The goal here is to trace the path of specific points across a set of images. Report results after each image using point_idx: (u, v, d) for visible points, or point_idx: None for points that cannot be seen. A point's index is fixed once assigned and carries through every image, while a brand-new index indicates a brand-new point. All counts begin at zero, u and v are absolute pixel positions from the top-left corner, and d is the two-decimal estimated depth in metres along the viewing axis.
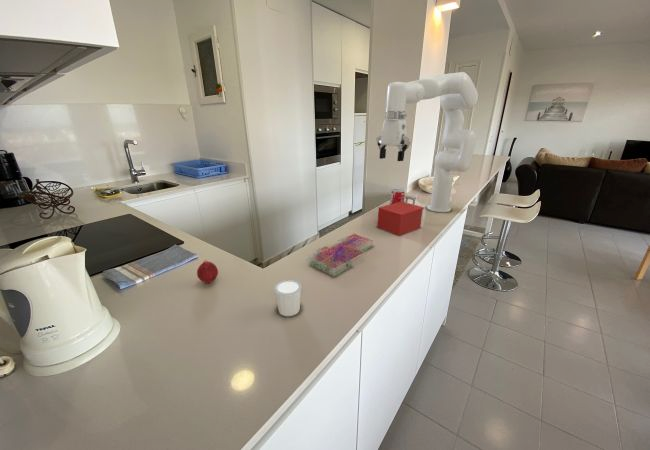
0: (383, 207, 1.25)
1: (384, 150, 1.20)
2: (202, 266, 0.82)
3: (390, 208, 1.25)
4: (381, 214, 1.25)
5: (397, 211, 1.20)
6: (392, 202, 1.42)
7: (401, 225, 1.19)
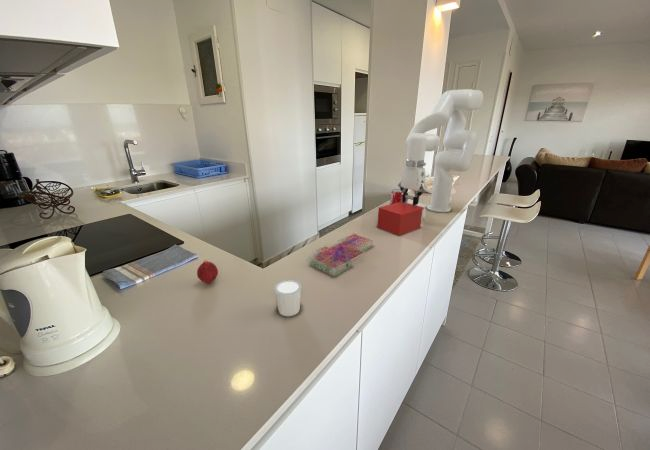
0: (383, 207, 1.25)
1: None
2: (202, 266, 0.82)
3: (390, 208, 1.25)
4: (381, 214, 1.25)
5: (397, 211, 1.20)
6: (392, 202, 1.42)
7: (401, 225, 1.19)
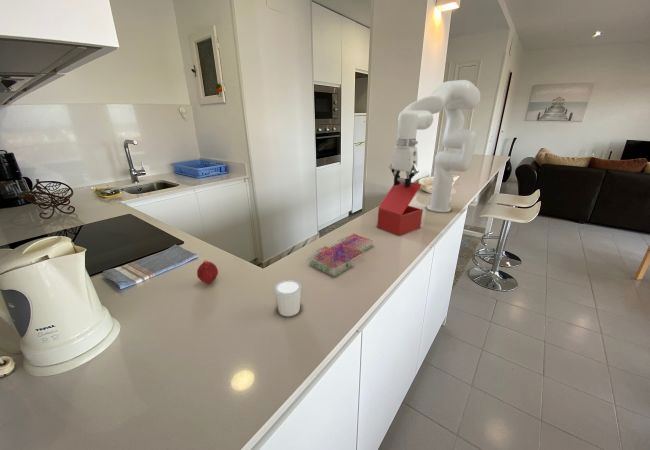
0: (382, 205, 1.25)
1: (398, 177, 1.22)
2: (202, 266, 0.82)
3: (389, 203, 1.23)
4: (381, 214, 1.25)
5: (396, 208, 1.19)
6: None
7: (401, 225, 1.19)
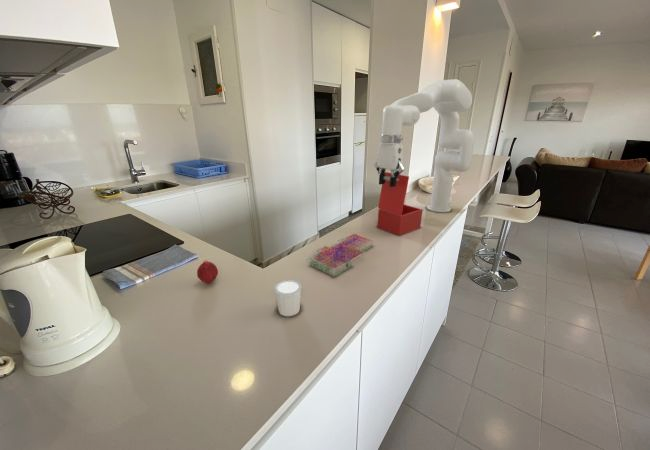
0: (380, 205, 1.24)
1: (383, 176, 1.16)
2: (202, 266, 0.82)
3: (386, 202, 1.21)
4: (381, 214, 1.25)
5: (394, 208, 1.18)
6: None
7: (401, 225, 1.19)
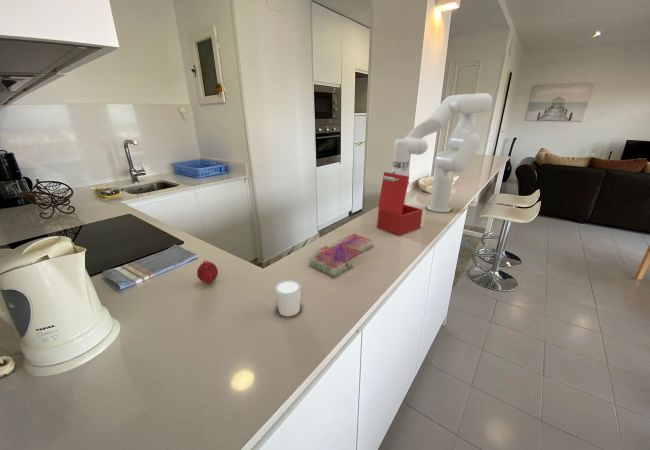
0: (380, 205, 1.24)
1: None
2: (202, 266, 0.82)
3: (386, 202, 1.21)
4: (381, 214, 1.25)
5: (394, 208, 1.18)
6: None
7: (401, 225, 1.19)
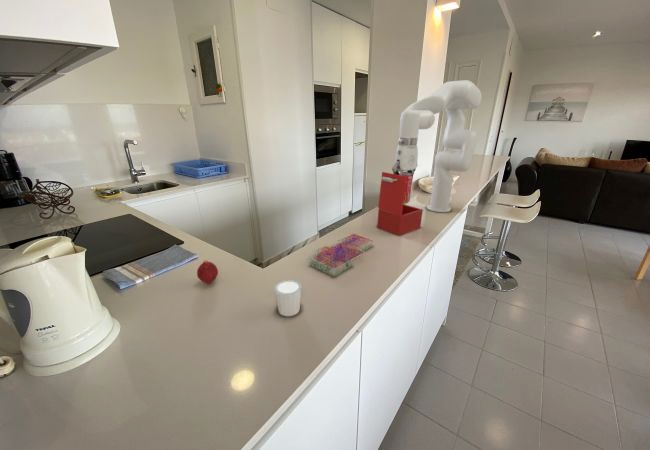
0: (380, 205, 1.24)
1: None
2: (202, 266, 0.82)
3: (385, 202, 1.21)
4: (381, 214, 1.25)
5: (394, 208, 1.18)
6: None
7: (401, 225, 1.19)
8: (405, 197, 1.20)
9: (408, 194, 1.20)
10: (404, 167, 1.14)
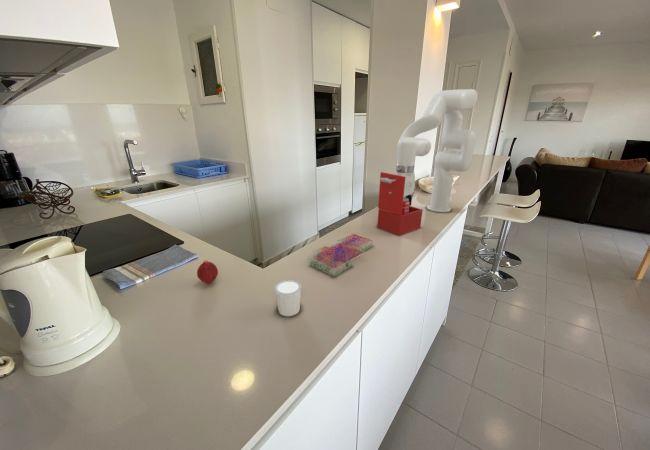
0: (380, 205, 1.24)
1: (408, 198, 1.26)
2: (202, 266, 0.82)
3: (385, 202, 1.21)
4: (381, 214, 1.25)
5: (394, 208, 1.18)
6: None
7: (401, 225, 1.19)
8: None
9: None
10: None
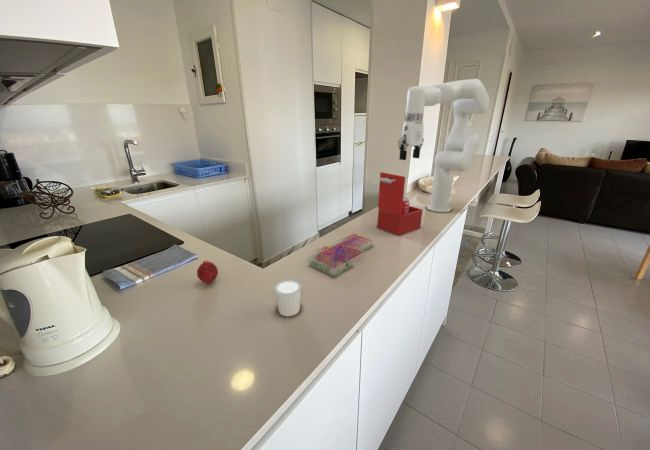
0: (380, 205, 1.24)
1: (417, 150, 1.26)
2: (202, 266, 0.82)
3: (385, 202, 1.21)
4: (381, 214, 1.25)
5: (394, 208, 1.18)
6: None
7: (401, 225, 1.19)
8: None
9: None
10: (410, 142, 1.18)
